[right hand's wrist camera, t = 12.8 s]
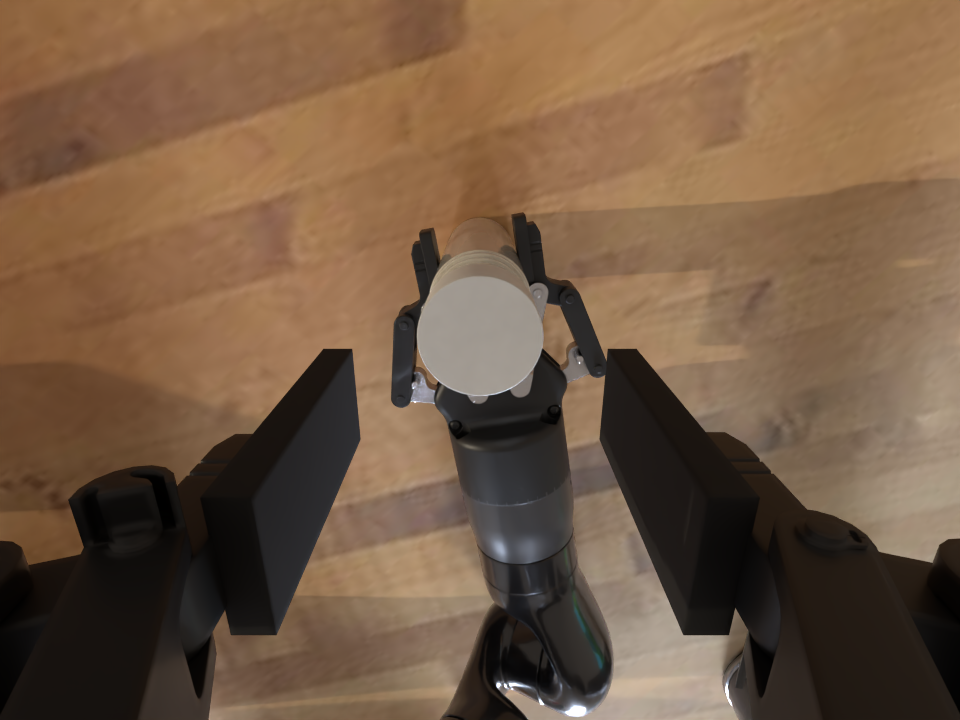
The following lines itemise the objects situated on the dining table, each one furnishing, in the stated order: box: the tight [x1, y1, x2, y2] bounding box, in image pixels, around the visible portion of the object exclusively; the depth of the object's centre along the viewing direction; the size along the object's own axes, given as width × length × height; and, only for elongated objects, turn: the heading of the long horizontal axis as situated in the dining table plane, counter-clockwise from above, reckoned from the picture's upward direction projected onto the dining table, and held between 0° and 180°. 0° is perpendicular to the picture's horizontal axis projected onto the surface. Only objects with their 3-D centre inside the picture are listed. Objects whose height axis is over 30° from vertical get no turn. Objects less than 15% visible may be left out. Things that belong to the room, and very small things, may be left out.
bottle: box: [429, 218, 531, 294], centre depth 28 cm, size 5×5×19 cm
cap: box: [417, 264, 543, 396], centre depth 20 cm, size 5×4×2 cm
